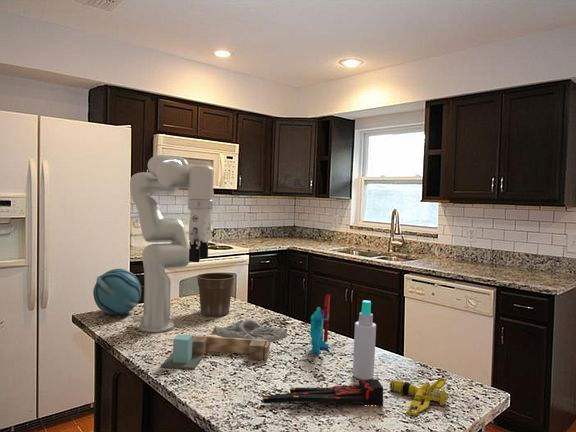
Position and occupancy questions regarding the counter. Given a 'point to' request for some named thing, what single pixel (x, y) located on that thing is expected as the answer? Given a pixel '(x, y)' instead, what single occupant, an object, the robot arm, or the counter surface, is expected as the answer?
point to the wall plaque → (250, 331)
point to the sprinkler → (421, 393)
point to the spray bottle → (364, 344)
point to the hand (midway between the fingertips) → (198, 259)
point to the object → (215, 293)
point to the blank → (182, 348)
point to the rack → (231, 346)
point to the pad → (190, 365)
